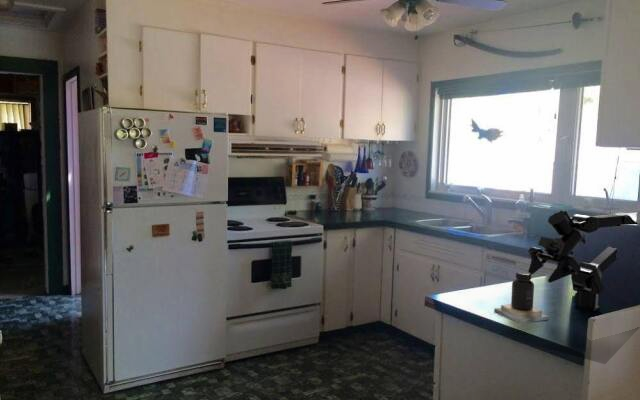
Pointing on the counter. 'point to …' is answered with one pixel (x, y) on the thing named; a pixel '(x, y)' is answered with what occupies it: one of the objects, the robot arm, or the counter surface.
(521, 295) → the supplement bottle
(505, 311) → the build base
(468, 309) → the counter surface
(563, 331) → the counter surface
